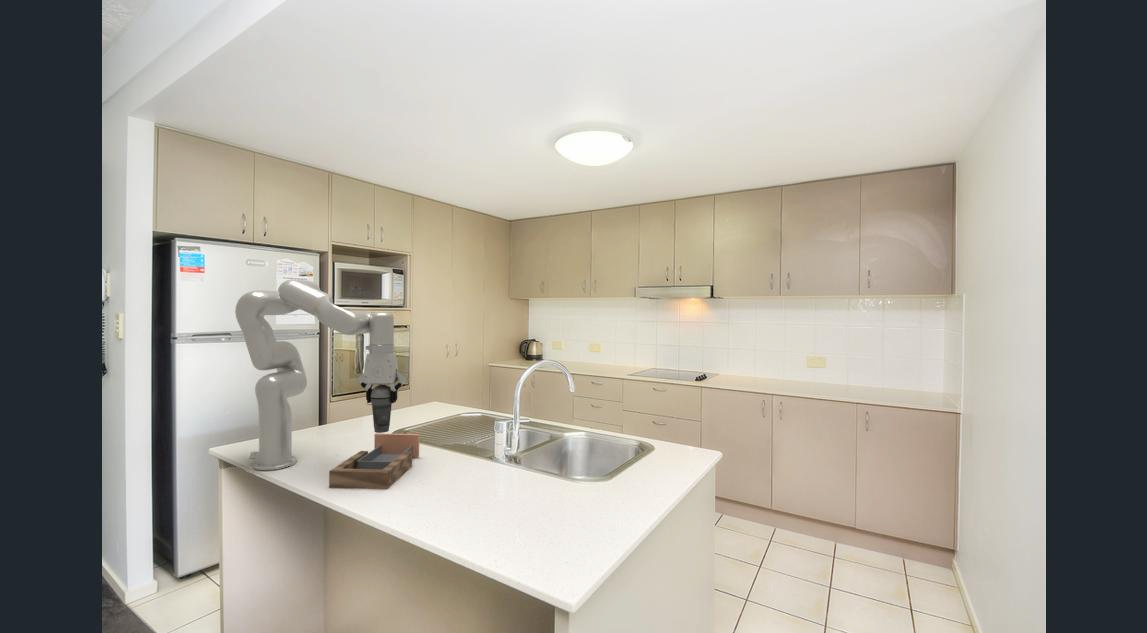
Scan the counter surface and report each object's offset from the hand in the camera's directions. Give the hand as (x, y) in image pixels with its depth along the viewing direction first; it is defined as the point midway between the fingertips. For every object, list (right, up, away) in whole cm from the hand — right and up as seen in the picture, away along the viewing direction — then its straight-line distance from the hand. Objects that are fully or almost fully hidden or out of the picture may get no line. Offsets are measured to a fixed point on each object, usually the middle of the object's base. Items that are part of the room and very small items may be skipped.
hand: (381, 402), depth 158 cm
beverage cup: (0, -10, 0) cm, 10 cm away
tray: (0, -23, +4) cm, 23 cm away
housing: (-1, -23, -6) cm, 24 cm away
